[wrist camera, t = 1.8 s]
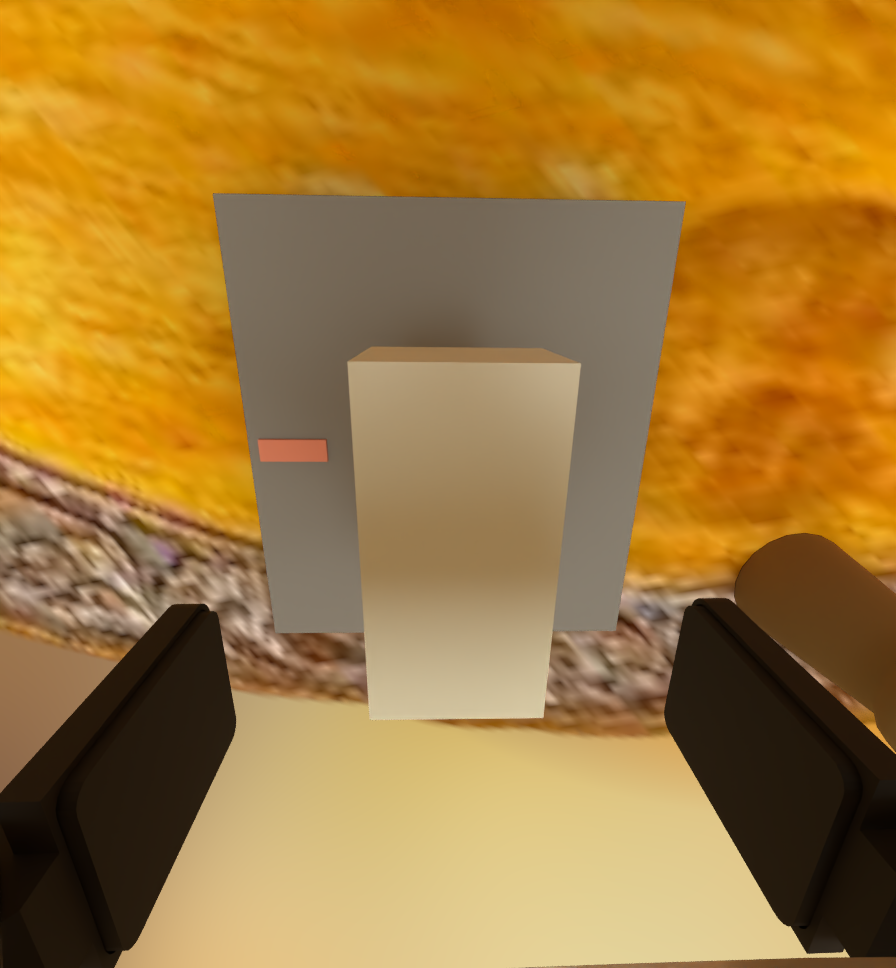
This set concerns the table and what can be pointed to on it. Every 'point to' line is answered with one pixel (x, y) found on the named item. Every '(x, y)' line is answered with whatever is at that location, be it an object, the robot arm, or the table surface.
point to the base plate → (439, 323)
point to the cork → (827, 617)
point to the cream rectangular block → (460, 524)
